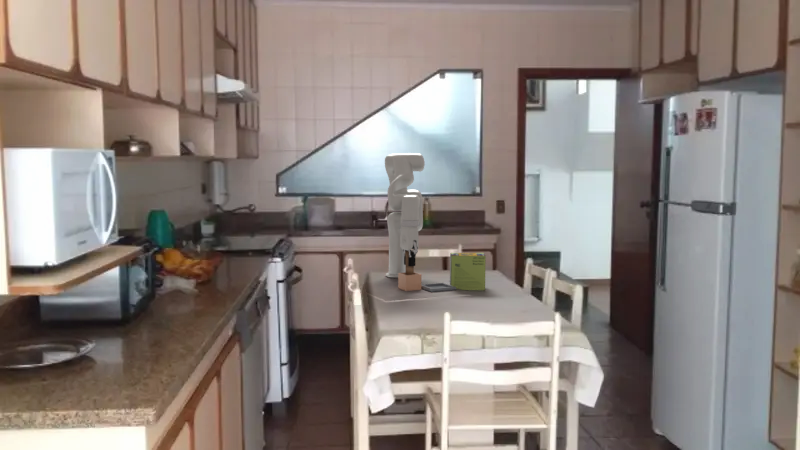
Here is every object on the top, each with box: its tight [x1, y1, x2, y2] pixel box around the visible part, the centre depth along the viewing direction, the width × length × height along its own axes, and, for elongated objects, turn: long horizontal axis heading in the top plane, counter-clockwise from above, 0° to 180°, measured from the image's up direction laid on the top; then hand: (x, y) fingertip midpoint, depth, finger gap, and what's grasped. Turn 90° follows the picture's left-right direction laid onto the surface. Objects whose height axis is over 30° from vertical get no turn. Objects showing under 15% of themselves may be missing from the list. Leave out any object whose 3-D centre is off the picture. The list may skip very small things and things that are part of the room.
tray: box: [421, 282, 457, 293], centre depth 319 cm, size 12×12×2 cm
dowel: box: [405, 251, 415, 275], centre depth 319 cm, size 4×4×14 cm
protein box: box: [449, 252, 487, 291], centre depth 325 cm, size 10×15×16 cm
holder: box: [397, 271, 422, 292], centre depth 319 cm, size 8×8×8 cm
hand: (409, 264), depth 319 cm, fingers closed on dowel, 3 cm apart
